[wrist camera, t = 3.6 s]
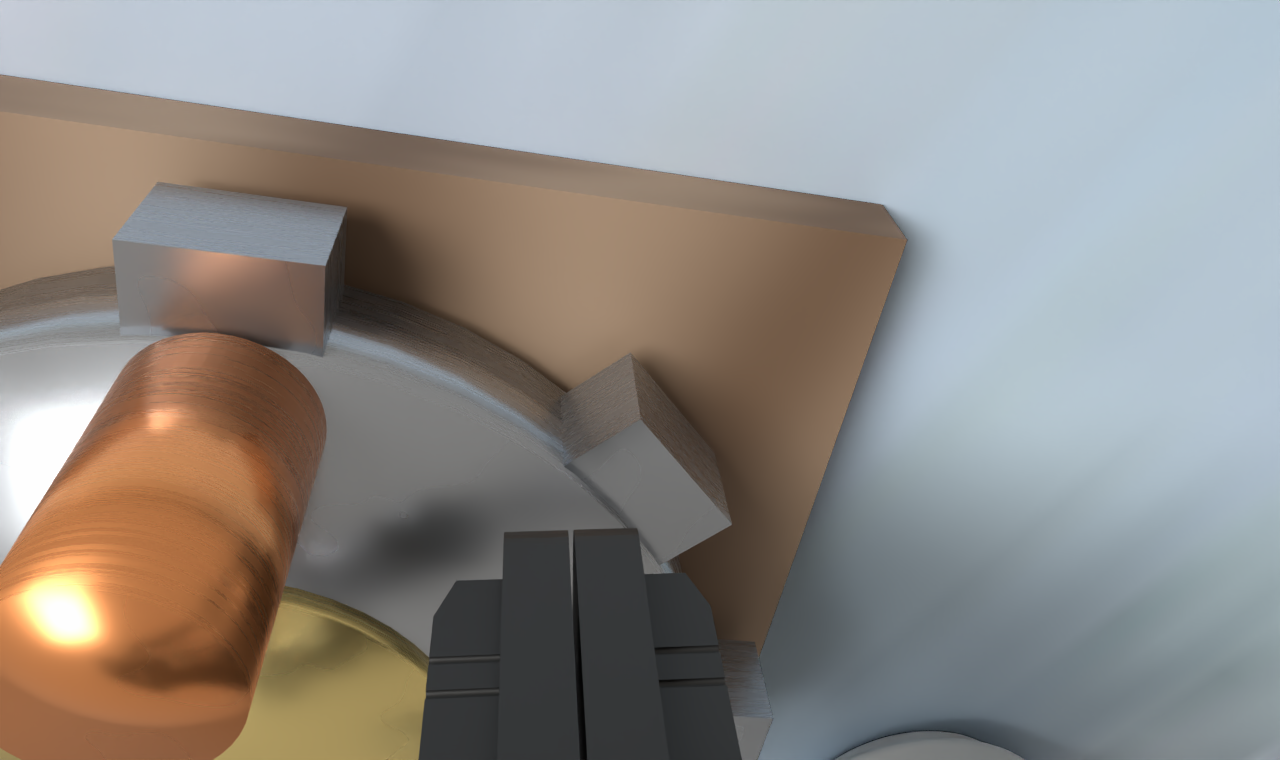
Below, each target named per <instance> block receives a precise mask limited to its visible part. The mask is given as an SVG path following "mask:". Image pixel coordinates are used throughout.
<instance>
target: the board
mask: <svg viewBox="0 0 1280 760" xmlns="http://www.w3.org/2000/svg"><path fill="white" fill-rule="evenodd" d="M157 182H164V183H171V184H179V185H186V186H193V187H201V188H208V189H216V190H223V191H231V192H238V193H246V194H253V195H261V196H268V197H275V198H283V199H290V200H298V201H305V202H313V203H320V204H328V205H335V206H342V207H347V226H346V251H345V277H344V285H347V286H351V287H354V288H358V289H361V290H364V291H368V292H371V293H375V294H378V295H382V296H385V297H388V298H392V299H395V300H399V301H402V302H404V303H406V304H409V305H411V306H414V307H416V308H418V309H421V310H423V311H426V312H428V313H430V314H433V315H435V316H437V317H440V318H442V319H445V320H447V321H449V322H452V323H454V324H457V325H459V326H461V327H464V328H466V329H468V330H469V331H471V332H473V333H475V334H476V335H478V336H480V337H482V338H484V339H485V340H487V341H489V342H491V343H492V344H494V345H496V346H498V347H500V348H501V349H503V350H505V351H507V352H508V353H510V354H512V355H514V356H516V357H517V358H519V359H521V360H522V361H524V362H525V363H526V364H528V365H529V366H530V367H532V368H533V369H535V370H536V371H537V372H539V373H540V374H541V375H543V376H544V377H545V378H547V379H548V380H549V381H551V382H552V383H554V384H555V385H556V386H558V387H559V388H560V389H562V390H563V391H564V392H566V393H567V392H569V391H570V390H572V389H573V388H575V387H576V386H578V385H580V384H581V383H583V382H584V381H586V380H588V379H589V378H591V377H592V376H594V375H595V374H597V373H599V372H600V371H602V370H603V369H605V368H607V367H608V366H610V365H611V364H613V363H615V362H616V361H618V360H619V359H621V358H622V357H624V356H626V355H627V354H629V353H630V352H631V353H632V355H633V356H634V357H635V358H636V359H637V361H638V362H639V363H640V364H641V365H642V367H643V368H644V369H645V370H646V371H647V373H648V374H649V375H650V376H651V377H652V379H653V380H654V381H655V382H656V383H657V385H658V386H659V387H660V388H661V389H662V391H663V392H664V393H665V394H666V395H667V397H668V398H669V399H670V400H671V401H672V403H673V404H674V405H675V406H676V407H677V409H678V410H679V411H680V412H681V413H682V415H683V416H684V417H685V418H686V419H687V421H688V422H689V423H690V424H691V425H692V427H693V428H694V429H695V430H696V431H697V433H698V434H699V435H700V436H701V437H702V439H703V440H704V441H705V442H706V443H707V445H708V446H709V447H710V448H711V449H712V451H713V452H714V453H715V457H716V461H717V465H718V469H719V473H720V477H721V481H722V485H723V490H724V494H725V498H726V502H727V506H728V510H729V514H730V518H731V522H732V525H730V526H729V527H727V528H725V529H723V530H722V531H720V532H718V533H716V534H714V535H713V536H711V537H709V538H707V539H706V540H704V541H702V542H700V543H698V544H697V545H695V546H693V547H691V548H690V549H688V550H686V551H684V552H683V553H681V554H679V559H680V565H681V571H682V573H686V574H687V576H688V577H689V578H690V579H691V581H692V582H693V583H694V585H695V586H696V587H697V589H698V590H699V591H700V593H701V594H702V595H703V597H704V598H705V599H706V600H707V602H708V603H709V604H710V606H711V610H712V615H713V620H714V625H715V630H716V635H717V639H722V640H737V641H752V642H755V645H756V649H757V653H758V657H759V656H760V653H761V650H762V647H763V645H764V642H765V639H766V636H767V633H768V630H769V628H770V625H771V622H772V619H773V616H774V614H775V611H776V608H777V605H778V602H779V599H780V597H781V594H782V591H783V588H784V585H785V583H786V580H787V577H788V574H789V571H790V568H791V566H792V563H793V560H794V557H795V554H796V552H797V549H798V546H799V543H800V540H801V538H802V535H803V532H804V529H805V526H806V523H807V521H808V518H809V515H810V512H811V509H812V507H813V504H814V501H815V498H816V495H817V492H818V490H819V487H820V484H821V481H822V478H823V476H824V473H825V470H826V467H827V464H828V462H829V459H830V456H831V453H832V450H833V447H834V445H835V442H836V439H837V436H838V433H839V431H840V428H841V425H842V422H843V419H844V416H845V414H846V411H847V408H848V405H849V402H850V400H851V397H852V394H853V391H854V388H855V385H856V383H857V380H858V377H859V374H860V371H861V369H862V366H863V363H864V360H865V357H866V355H867V352H868V349H869V346H870V343H871V340H872V338H873V335H874V332H875V329H876V326H877V324H878V321H879V318H880V315H881V312H882V309H883V307H884V304H885V301H886V298H887V295H888V293H889V290H890V287H891V284H892V281H893V279H894V276H895V273H896V270H897V267H898V264H899V262H900V259H901V256H902V253H903V250H904V248H905V245H906V242H907V239H906V238H905V236H904V235H903V233H902V232H901V230H900V229H899V228H898V226H897V225H896V223H895V222H894V220H893V219H892V218H891V216H890V215H889V213H888V212H887V210H886V209H885V208H884V206H883V205H881V204H874V203H867V202H860V201H853V200H847V199H840V198H833V197H826V196H820V195H813V194H806V193H799V192H792V191H786V190H779V189H772V188H765V187H758V186H752V185H745V184H738V183H731V182H725V181H718V180H711V179H704V178H697V177H691V176H684V175H677V174H670V173H664V172H657V171H650V170H643V169H636V168H630V167H623V166H616V165H609V164H603V163H596V162H589V161H582V160H575V159H569V158H562V157H555V156H548V155H541V154H535V153H528V152H521V151H514V150H508V149H501V148H494V147H487V146H480V145H474V144H467V143H460V142H453V141H447V140H440V139H433V138H426V137H419V136H413V135H406V134H399V133H392V132H385V131H379V130H372V129H365V128H358V127H352V126H345V125H338V124H331V123H324V122H318V121H311V120H304V119H297V118H291V117H284V116H277V115H270V114H263V113H257V112H250V111H243V110H236V109H229V108H223V107H216V106H209V105H202V104H196V103H189V102H182V101H175V100H168V99H162V98H155V97H148V96H141V95H135V94H128V93H121V92H114V91H107V90H101V89H94V88H87V87H80V86H73V85H67V84H60V83H53V82H46V81H40V80H33V79H26V78H19V77H12V76H6V75H0V290H1V289H4V288H7V287H11V286H14V285H17V284H21V283H24V282H27V281H30V280H34V279H37V278H42V277H48V276H54V275H60V274H66V273H72V272H78V271H84V270H90V269H96V268H102V267H108V266H114V255H113V244H112V239H113V238H114V236H115V235H116V234H117V233H118V231H119V230H120V229H121V228H122V226H123V225H124V224H125V222H126V221H127V220H128V219H129V217H130V216H131V215H132V214H133V212H134V211H135V210H136V209H137V207H138V206H139V205H140V204H141V202H142V201H143V200H144V198H145V197H146V196H147V195H148V193H149V192H150V191H151V190H152V188H153V187H154V186H155V185H156V183H157Z"/></svg>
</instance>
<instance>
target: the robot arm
mask: <svg viewBox="0 0 1280 760" xmlns="http://www.w3.org/2000/svg"><path fill="white" fill-rule="evenodd" d="M418 760H742V757H741V752H740V747H739V742H738V737H737V732H736V728H735V723H734V718H733V713H732V708H731V703H730V698H729V693H728V688H727V685H726V684H725V674H724V669H723V664H722V659H721V654H720V653H719V644H718V639H717V635H716V630H715V625H714V620H713V615H712V610H711V606H710V604H709V603H708V602H707V600H706V599H705V598H704V597H703V595H702V594H701V593H700V591H699V590H698V589H697V587H696V586H695V585H694V583H693V582H692V581H691V579H690V578H689V577H688V576H687V574H686V573H661V574H644V569H643V561H642V554H641V546H640V539H639V533H638V529H637V528H613V529H578V530H573V590H572V593H571V573H570V553H569V534H568V530H553V531H518V532H504V543H503V577H502V579H489V580H458V581H456V582H455V583H454V585H453V586H452V588H451V590H450V591H449V593H448V594H447V596H446V597H445V599H444V600H443V602H442V604H441V605H440V607H439V608H438V610H437V611H436V613H435V614H434V616H433V624H432V634H431V643H430V653H429V665H428V672H427V682H426V699H425V701H424V711H423V720H422V730H421V739H420V749H419V759H418Z"/></svg>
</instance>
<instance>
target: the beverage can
mask: <svg viewBox="0 0 1280 760" xmlns="http://www.w3.org/2000/svg"><path fill="white" fill-rule="evenodd" d="M835 760H1025V759H1023V758H1022V757H1020V756H1018V755H1016V754H1014V753H1012V752H1010V751H1008V750H1006V749H1004V748H1001V747H998V746H995V745H992V744H988V743H985V742H980V741H978V740H976V739H973V738H971V737H967V736H964V735H961V734H956V733H950V732H942V731H919V732H909V733H902V734H897V735H892V736H888V737H884V738H881V739H878V740H874V741H871V742H869V743H866V744H863V745H861V746H859V747H856V748H854V749H852V750H850V751H848V752H846V753H845V754H843V755H841V756H839V757H838V758H836V759H835Z"/></svg>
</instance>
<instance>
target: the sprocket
mask: <svg viewBox="0 0 1280 760" xmlns="http://www.w3.org/2000/svg"><path fill="white" fill-rule="evenodd" d="M346 226H347V207H342V206H335V205H328V204H320V203H313V202H305V201H298V200H290V199H283V198H275V197H268V196H261V195H253V194H246V193H238V192H231V191H223V190H216V189H208V188H201V187H193V186H186V185H179V184H171V183H164V182H157V183H156V185H155V186H154V187H153V188H152V190H151V191H150V192H149V193H148V195H147V196H146V197H145V198H144V200H143V201H142V202H141V204H140V205H139V206H138V207H137V209H136V210H135V211H134V212H133V214H132V215H131V216H130V217H129V219H128V220H127V221H126V222H125V224H124V225H123V226H122V228H121V229H120V230H119V231H118V233H117V234H116V235H115V236H114V238H113V239H112V244H113V255H114V266H108V267H102V268H96V269H90V270H84V271H78V272H72V273H66V274H60V275H54V276H48V277H42V278H37V279H34V280H30V281H27V282H24V283H21V284H17V285H14V286H11V287H7V288H4V289H1V290H0V760H418V759H419V749H420V739H421V730H422V720H423V711H424V701H425V699H426V682H427V672H428V665H429V653H430V643H431V634H432V624H433V616H434V614H435V613H436V611H437V610H438V608H439V607H440V605H441V604H442V602H443V600H444V599H445V597H446V596H447V594H448V593H449V591H450V590H451V588H452V586H453V585H454V583H455V582H456V581H458V580H489V579H502V577H503V543H504V532H518V531H553V530H568V534H569V553H570V573H571V593H572V590H573V530H578V529H613V528H637V529H638V533H639V539H640V546H641V554H642V561H643V569H644V574H661V573H682V571H681V565H680V559H679V554H681V553H683V552H684V551H686V550H688V549H690V548H691V547H693V546H695V545H697V544H698V543H700V542H702V541H704V540H706V539H707V538H709V537H711V536H713V535H714V534H716V533H718V532H720V531H722V530H723V529H725V528H727V527H729V526H730V525H732V522H731V518H730V514H729V510H728V506H727V502H726V498H725V494H724V490H723V485H722V481H721V477H720V473H719V469H718V465H717V461H716V457H715V453H714V452H713V451H712V449H711V448H710V447H709V446H708V445H707V443H706V442H705V441H704V440H703V439H702V437H701V436H700V435H699V434H698V433H697V431H696V430H695V429H694V428H693V427H692V425H691V424H690V423H689V422H688V421H687V419H686V418H685V417H684V416H683V415H682V413H681V412H680V411H679V410H678V409H677V407H676V406H675V405H674V404H673V403H672V401H671V400H670V399H669V398H668V397H667V395H666V394H665V393H664V392H663V391H662V389H661V388H660V387H659V386H658V385H657V383H656V382H655V381H654V380H653V379H652V377H651V376H650V375H649V374H648V373H647V371H646V370H645V369H644V368H643V367H642V365H641V364H640V363H639V362H638V361H637V359H636V358H635V357H634V356H633V355H632V353H631V352H630V353H629V354H627V355H626V356H624V357H622V358H621V359H619V360H618V361H616V362H615V363H613V364H611V365H610V366H608V367H607V368H605V369H603V370H602V371H600V372H599V373H597V374H595V375H594V376H592V377H591V378H589V379H588V380H586V381H584V382H583V383H581V384H580V385H578V386H576V387H575V388H573V389H572V390H570V391H569V392H567V393H566V392H564V391H563V390H562V389H560V388H559V387H558V386H556V385H555V384H554V383H552V382H551V381H549V380H548V379H547V378H545V377H544V376H543V375H541V374H540V373H539V372H537V371H536V370H535V369H533V368H532V367H530V366H529V365H528V364H526V363H525V362H524V361H522V360H521V359H519V358H517V357H516V356H514V355H512V354H510V353H508V352H507V351H505V350H503V349H501V348H500V347H498V346H496V345H494V344H492V343H491V342H489V341H487V340H485V339H484V338H482V337H480V336H478V335H476V334H475V333H473V332H471V331H469V330H468V329H466V328H464V327H461V326H459V325H457V324H454V323H452V322H449V321H447V320H445V319H442V318H440V317H437V316H435V315H433V314H430V313H428V312H426V311H423V310H421V309H418V308H416V307H414V306H411V305H409V304H406V303H404V302H402V301H399V300H395V299H392V298H388V297H385V296H382V295H378V294H375V293H371V292H368V291H364V290H361V289H358V288H354V287H351V286H347V285H344V277H345V251H346ZM718 644H719V653H720V654H721V659H722V664H723V669H724V674H725V684H726V685H727V688H728V693H729V698H730V703H731V708H732V713H733V718H734V723H735V728H736V732H737V737H738V742H739V747H740V752H741V757H742V760H757V759H758V757H759V754H760V751H761V749H762V746H763V744H764V741H765V738H766V736H767V733H768V731H769V728H770V725H771V723H772V720H773V716H772V712H771V708H770V704H769V699H768V695H767V691H766V687H765V682H764V678H763V674H762V670H761V666H760V661H759V657H758V653H757V649H756V645H755V642H752V641H737V640H722V639H718Z"/></svg>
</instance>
